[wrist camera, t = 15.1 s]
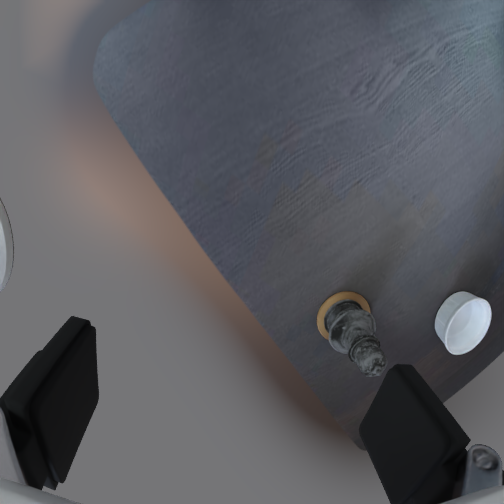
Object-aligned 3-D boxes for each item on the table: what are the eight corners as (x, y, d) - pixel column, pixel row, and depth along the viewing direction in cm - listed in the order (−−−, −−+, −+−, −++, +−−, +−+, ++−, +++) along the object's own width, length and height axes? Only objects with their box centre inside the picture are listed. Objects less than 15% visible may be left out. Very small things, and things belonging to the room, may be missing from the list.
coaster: (310, 337, 40) (311, 340, 39) (325, 287, 38) (326, 289, 37) (358, 342, 41) (360, 344, 40) (375, 294, 39) (377, 296, 38)
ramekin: (430, 349, 42) (444, 364, 38) (430, 298, 40) (446, 312, 35) (473, 328, 42) (488, 341, 38) (476, 279, 39) (493, 289, 35)
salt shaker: (370, 325, 39) (411, 379, 28) (330, 346, 40) (360, 407, 28) (357, 288, 38) (401, 338, 26) (314, 310, 38) (343, 368, 27)
